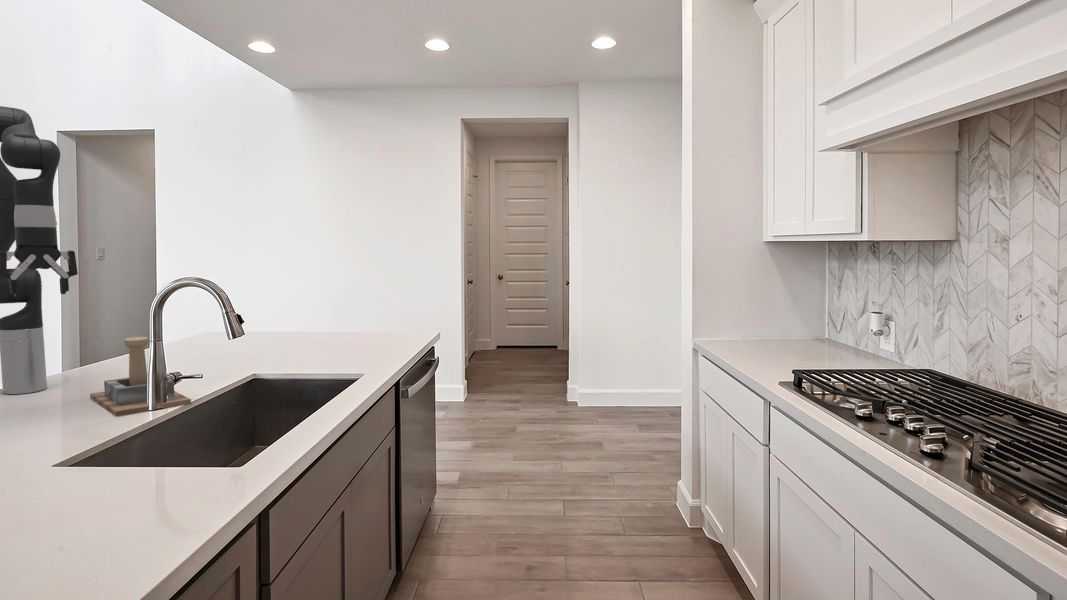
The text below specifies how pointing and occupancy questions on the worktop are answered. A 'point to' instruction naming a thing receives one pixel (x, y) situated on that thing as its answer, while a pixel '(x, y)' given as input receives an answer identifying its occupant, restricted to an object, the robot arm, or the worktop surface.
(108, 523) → the worktop surface
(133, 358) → the handle
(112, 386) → the wooden base with tray
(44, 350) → the robot arm
